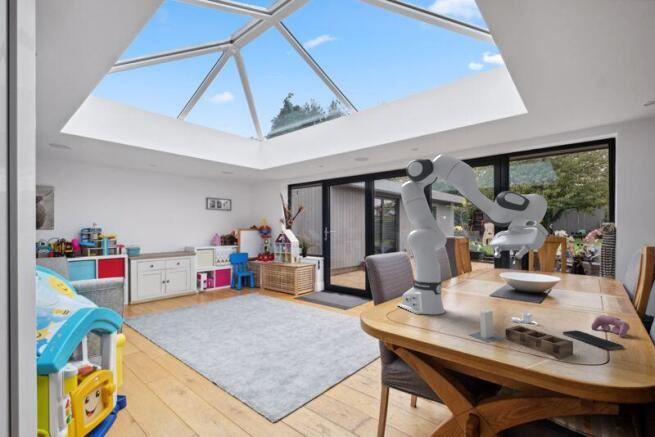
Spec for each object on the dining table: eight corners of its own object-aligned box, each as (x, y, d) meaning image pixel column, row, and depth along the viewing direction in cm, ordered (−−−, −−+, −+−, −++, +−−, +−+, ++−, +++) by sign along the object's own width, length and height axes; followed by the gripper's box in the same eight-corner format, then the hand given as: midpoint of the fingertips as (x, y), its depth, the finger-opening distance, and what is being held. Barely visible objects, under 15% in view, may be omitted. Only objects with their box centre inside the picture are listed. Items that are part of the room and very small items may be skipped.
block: (480, 336, 107) (480, 311, 107) (488, 334, 108) (487, 309, 109) (485, 338, 105) (485, 312, 105) (493, 336, 107) (492, 311, 107)
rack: (505, 340, 104) (505, 328, 104) (519, 336, 107) (518, 325, 107) (559, 359, 89) (559, 345, 89) (573, 354, 92) (572, 341, 93)
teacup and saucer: (510, 322, 124) (509, 313, 124) (516, 318, 129) (516, 309, 129) (535, 328, 117) (534, 317, 117) (540, 323, 122) (540, 313, 122)
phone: (606, 348, 95) (560, 331, 110) (606, 351, 95) (560, 334, 110) (625, 346, 97) (577, 330, 111) (625, 349, 97) (577, 333, 111)
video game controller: (628, 341, 106) (633, 322, 108) (622, 337, 105) (626, 318, 106) (595, 332, 116) (599, 315, 117) (589, 328, 114) (593, 311, 115)
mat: (467, 336, 108) (467, 334, 108) (486, 331, 112) (485, 330, 112) (487, 343, 101) (487, 342, 101) (506, 338, 105) (506, 337, 105)
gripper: (494, 226, 125) (479, 252, 122) (541, 221, 106) (526, 251, 102) (504, 236, 126) (490, 261, 123) (553, 232, 107) (537, 263, 103)
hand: (506, 257), depth 112 cm, fingers open, 8 cm apart
